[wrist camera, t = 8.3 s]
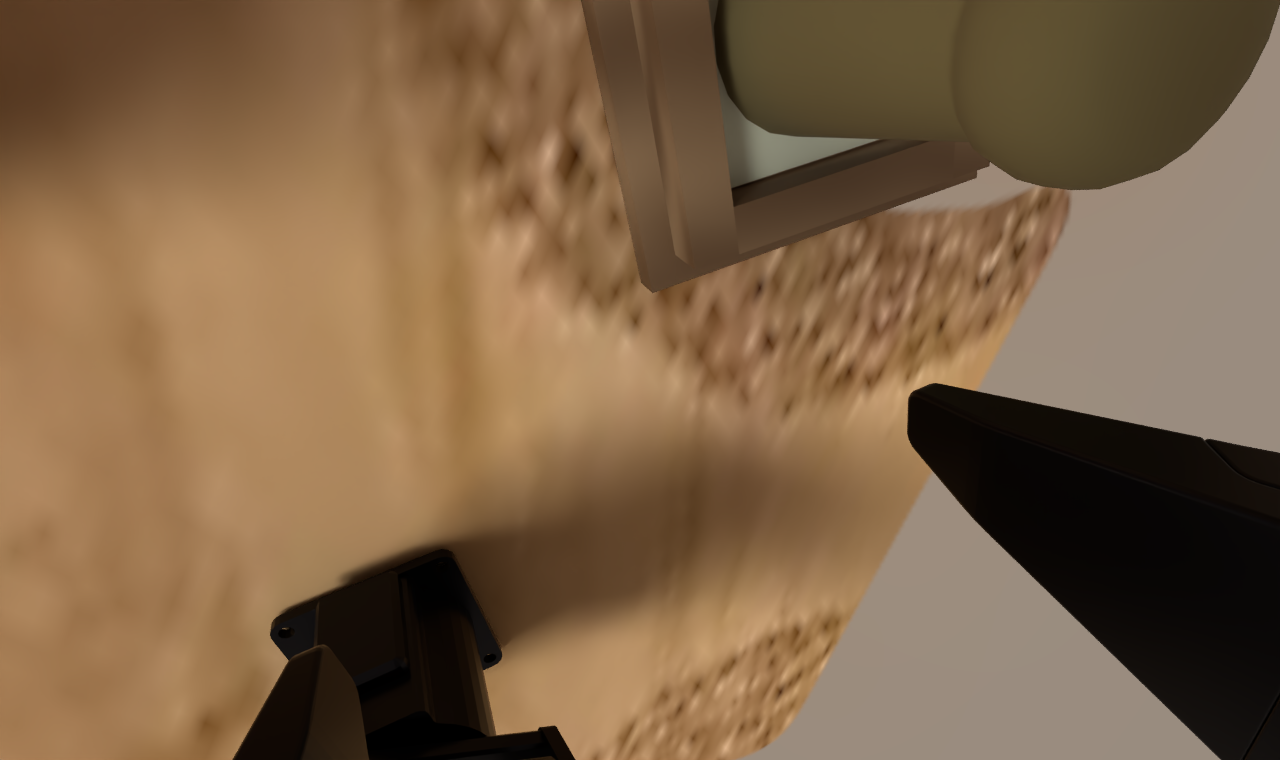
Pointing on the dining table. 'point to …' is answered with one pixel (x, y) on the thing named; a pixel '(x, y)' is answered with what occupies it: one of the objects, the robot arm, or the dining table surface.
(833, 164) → the brown picture frame
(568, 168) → the dining table surface
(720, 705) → the dining table surface
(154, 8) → the dining table surface
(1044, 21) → the olive bulb-ended cylinder
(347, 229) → the dining table surface
